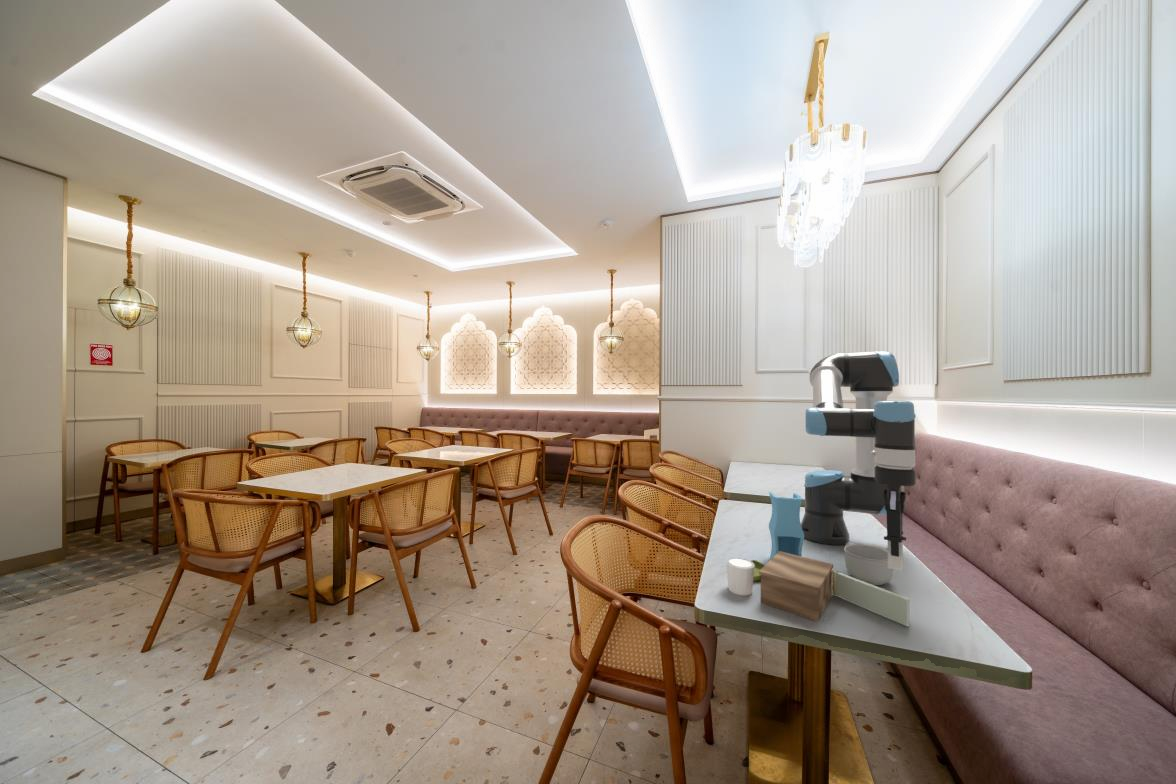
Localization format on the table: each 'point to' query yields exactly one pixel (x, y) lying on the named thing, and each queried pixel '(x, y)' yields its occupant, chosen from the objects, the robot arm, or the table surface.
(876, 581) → the grey oval bowl
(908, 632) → the table surface
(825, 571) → the wood grain block
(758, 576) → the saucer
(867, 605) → the door
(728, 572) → the white short cylinder
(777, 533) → the blue tall holder
